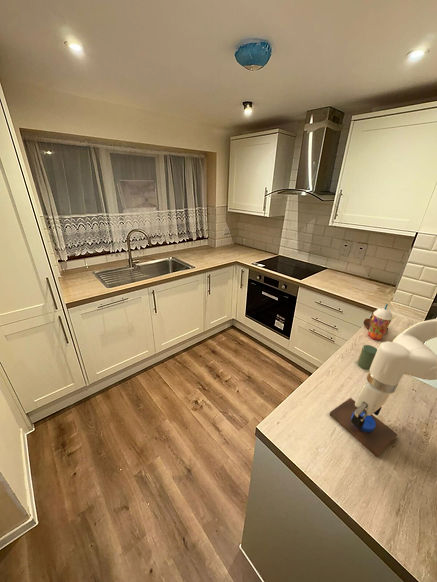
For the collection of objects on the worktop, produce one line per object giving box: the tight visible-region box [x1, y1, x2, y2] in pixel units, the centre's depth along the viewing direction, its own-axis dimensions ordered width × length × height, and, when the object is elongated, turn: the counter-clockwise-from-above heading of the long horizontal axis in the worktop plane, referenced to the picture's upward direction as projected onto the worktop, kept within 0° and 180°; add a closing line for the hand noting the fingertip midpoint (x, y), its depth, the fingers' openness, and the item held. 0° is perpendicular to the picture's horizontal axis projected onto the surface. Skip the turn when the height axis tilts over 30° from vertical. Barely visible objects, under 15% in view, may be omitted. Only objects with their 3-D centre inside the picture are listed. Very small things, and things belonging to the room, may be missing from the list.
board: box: [329, 397, 398, 458], centre depth 78 cm, size 16×12×2 cm
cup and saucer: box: [363, 315, 389, 332], centre depth 132 cm, size 12×12×6 cm
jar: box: [356, 344, 378, 371], centre depth 103 cm, size 6×6×9 cm
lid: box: [351, 411, 376, 432], centre depth 78 cm, size 7×7×2 cm
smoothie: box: [367, 303, 394, 341], centre depth 121 cm, size 8×8×20 cm
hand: (364, 418), depth 77 cm, fingers open, 9 cm apart
